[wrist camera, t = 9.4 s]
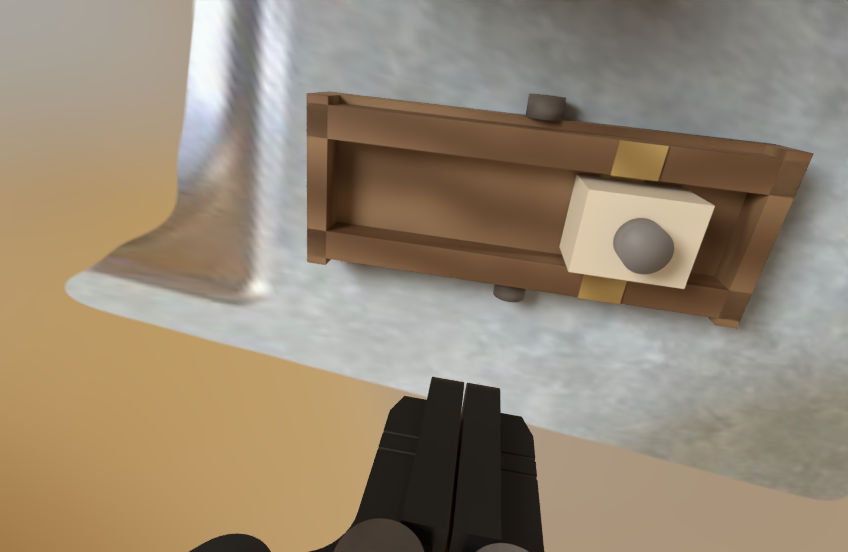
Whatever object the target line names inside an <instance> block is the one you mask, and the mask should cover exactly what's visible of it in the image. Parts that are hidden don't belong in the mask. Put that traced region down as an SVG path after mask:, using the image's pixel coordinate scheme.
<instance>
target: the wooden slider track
mask: <svg viewBox="0 0 848 552" xmlns="http://www.w3.org/2000/svg"><path fill="white" fill-rule="evenodd" d="M565 101H566V98H564V97H557V96H549V95H540V94H529V100H528V105H527V111H526V115H522V114H513V113H505V112H496V111H488V110H480V109H471V108H463V107H454V106H446V105H437V104H429V103H420V102H412V101H403V100H395V99H386V98H378V97H369V96H361V95H352V94H344V93H335V92H319V93H307V262H310V263H317V264H323V265H326V264H327V263H328V262H329V261H330V260H331V259H333V260H340V261H346V262H353V263H360V264H366V265H373V266H379V267H386V268H392V269H399V270H405V271H412V272H418V273H425V274H431V275H438V276H444V277H451V278H458V279H464V280H471V281H477V282H484V283H490V284H495V287H494V292H493V294H494V295H495V296H496V297H497V298H499V299H501V300H504V301H508V302H519V301H522V300H523V298H524V294H525V289H529V290H536V291H543V292H549V293H556V294H562V295H569V296H575V297H578V298H581V299H588V300H594V301H601V302H607V303H614V304H620V303H621V304H627V305H634V306H641V307H647V308H654V309H660V310H667V311H673V312H680V313H686V314H693V315H699V316H706V317H709V319H710V320H711V321H712V322H713V323H714V324H715V325H718V326H725V327H731V328H737V326H738V324H739V322H740V320H741V317H742V315H743V313H744V311H745V308H746V306H747V304H748V301H749V299H750V297H751V295H752V292H753V290H754V288H755V286H756V283H757V281H758V279H759V276H760V274H761V272H762V270H763V267H764V265H765V263H766V261H767V258H768V256H769V254H770V251H771V249H772V247H773V245H774V242H775V240H776V238H777V236H778V233H779V231H780V229H781V227H782V224H783V222H784V220H785V217H786V215H787V213H788V211H789V208H790V206H791V204H792V202H793V199H794V197H795V195H796V192H797V190H798V188H799V186H800V183H801V181H802V179H803V177H804V174H805V172H806V170H807V167H808V165H809V163H810V161H811V158H812V156H813V153H809V152H805V151H800V150H796V149H792V148H788V147H784V146H780V145H776V144H768V143H760V142H751V141H743V140H734V139H726V138H717V137H709V136H700V135H692V134H683V133H675V132H666V131H658V130H649V129H641V128H632V127H624V126H615V125H607V124H598V123H590V122H581V121H573V120H564V119H562V115H563V110H564V106H565ZM576 174H580V175H588V176H596V177H604V178H611V179H619V180H627V181H635V182H642V183H650V184H658V185H666V186H674V187H681V188H686V189H687V190H689V191H691V192H692V193H694V194H696V195H697V196H699V197H701V198H702V199H704V200H706V201H707V202H709V203H711V204H713V205H714V206H715V207H714V210H713V213H712V215H711V218H710V221H709V224H708V226H707V229H706V232H705V234H704V237H703V240H702V242H701V245H700V248H699V251H698V253H697V256H696V259H695V261H694V264H693V267H692V269H691V272H690V275H689V277H688V280H687V283H686V286H685V288H684V289H680V288H673V287H667V286H660V285H653V284H647V283H640V282H633V281H626V280H620V279H613V278H606V277H599V276H593V275H586V274H579V273H572V272H568V270H567V267H566V264H565V261H564V258H563V256H562V253H561V250H560V247H559V246H560V242H561V238H562V234H563V229H564V225H565V221H566V217H567V213H568V208H569V204H570V200H571V196H572V191H573V187H574V183H575V179H576Z"/></svg>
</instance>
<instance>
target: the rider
mask: <svg viewBox="0 0 848 552" xmlns="http://www.w3.org/2000/svg"><path fill="white" fill-rule="evenodd" d="M714 207H715V206H714V205H713V204H711V203H709V202H707V201H706V200H704V199H702V198H701V197H699V196H697V195H696V194H694V193H692V192H691V191H689V190H687V189H686V188H681V187H674V186H666V185H658V184H650V183H642V182H635V181H627V180H619V179H611V178H604V177H596V176H588V175H580V174H576V179H575V183H574V187H573V191H572V196H571V200H570V204H569V208H568V213H567V217H566V221H565V225H564V229H563V234H562V238H561V242H560V246H559V247H560V250H561V253H562V256H563V258H564V261H565V264H566V267H567V270H568V272H572V273H579V274H586V275H593V276H599V277H606V278H613V279H620V280H626V281H633V282H640V283H647V284H653V285H660V286H667V287H673V288H680V289H684V288H685V286H686V283H687V280H688V277H689V275H690V272H691V269H692V267H693V264H694V261H695V259H696V256H697V253H698V251H699V248H700V245H701V242H702V240H703V237H704V234H705V232H706V229H707V226H708V224H709V221H710V218H711V215H712V213H713V210H714Z"/></svg>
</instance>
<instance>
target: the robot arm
mask: <svg viewBox="0 0 848 552" xmlns="http://www.w3.org/2000/svg"><path fill="white" fill-rule="evenodd" d="M463 390H464V382H459V381H454V380H448V379H442V378H437V377H432V379H431V384H430V388H429V393H428V398H427V400H424V399H419V398H413V397H408V396H404V397H403V398H402V399H401V400H400V401H399V402H398V403H397V404H396V405H395V406H394V407H393V408H392V409H391V410H390V412H389V415H388V418H387V421H386V425H385V428H384V432H383V434H382V437H381V440H380V444H379V448H378V450H377V453H376V457H375V459H374V463H373V466H372V469H371V472H370V475H369V479H368V482H367V485H366V488H365V491H364V494H363V498H362V501H361V504H360V507H359V510H358V513H357V516H356V518H355V520H354V522H353V524H352V525H351V527H350V528H349V529H348V530H347V531H346V533H345V534H343V535H342V536H341V537H340V538H339V539H338V540H336V541H335V542H333V543H332V544H330V545H328V546H326V547H324V548H321V549H318V550H315V551H310V552H544V545H543V535H542V524H541V513H540V503H539V493H538V482H537V480H536V477H537V472H536V462H535V452H534V440H533V435H532V434H531V432H530V430H529V429H528V427H527V425H526V423H525V422H524V420H523V418H522V417H520V416H515V415H509V414H503V413H500V388H495V387H489V386H483V385H478V384H472V383H467V384H466V389H465V395H464V401H463V406H462V400H463ZM461 409H462V412H461ZM190 552H271V551H270V550H269V548H268V547H267V546H266V545H265V544H264V543H263V542H262V541H261V540H259V539H257V538H255V537H253V536H250V535H246V534H228V535H223V536H219V537H217V538H214V539H211V540H209V541H207V542H205V543H203V544H201V545H200V546H198V547H196V548H195V549H193V550H191V551H190Z"/></svg>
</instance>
